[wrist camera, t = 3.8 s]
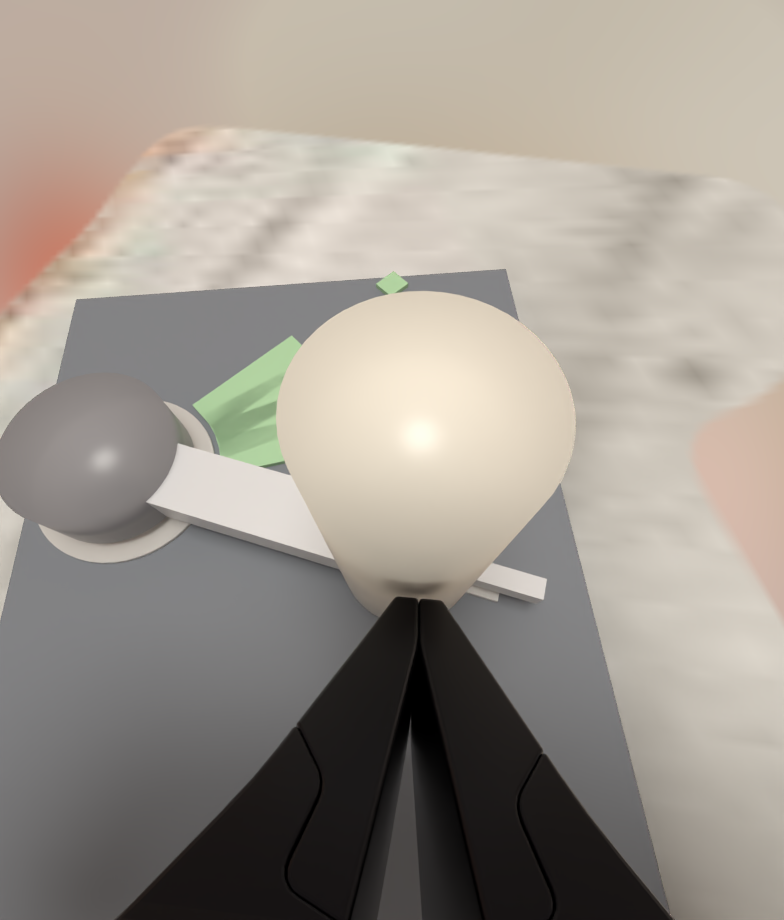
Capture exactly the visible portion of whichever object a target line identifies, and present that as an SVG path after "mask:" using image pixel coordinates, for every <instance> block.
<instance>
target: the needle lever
mask: <svg viewBox="0 0 784 920" xmlns="http://www.w3.org/2000/svg"><path fill="white" fill-rule="evenodd" d="M276 426H277V436H278V441H279V445H280V449H281V453H282V456H283V458H284V461H285V463H286V466H287V468H288V470H289V472H290V474H291V475H287V474H284V473H280V472H277V471H273V470H270V469H266V468H263V467H259V466H256V465H252V464H249V463H245V462H242V461H238V460H235V459H231V458H228V457H224V456H221V455H217V454H214V453H210V452H207V451H203V450H200V449H196V448H194V445H193V442H192V439H191V437H190V435H189V433H188V431H187V429H186V428H185V427H184V425H183V424H182V423H181V422H180V420H179V419H178V418H177V417H176V416H175V415H174V413H173V412H172V411H171V410H170V409H169V407H168V406H167V405H166V404H165V403H164V402H163V400H162V399H161V398H160V397H159V396H158V395H157V393H156V392H155V391H154V390H153V389H152V388H151V387H149V386H148V385H146V384H145V383H143V382H142V381H140V380H138V379H136V378H133V377H130V376H127V375H123V374H118V373H91V374H85V375H81V376H76V377H73V378H70V379H67V380H64V381H62V382H60V383H58V384H55V385H53V386H52V387H50V388H48V389H46V390H44V391H43V392H41V393H40V394H39V395H37V396H36V397H34V398H33V399H32V400H31V401H30V402H28V403H27V404H26V405H25V406H24V407H23V408H22V409H21V410H20V411H19V412H18V413H17V414H16V416H15V417H14V418H13V419H12V420H11V422H10V423H9V425H8V426H7V428H6V430H5V431H4V433H3V435H2V437H1V439H0V495H1V497H2V499H3V500H4V502H5V503H6V504H7V505H8V506H9V507H10V508H11V509H12V510H13V511H14V512H15V513H17V514H19V515H20V516H22V517H24V518H26V519H28V520H31V521H33V522H35V523H38V524H40V525H42V526H45V527H47V528H50V529H52V530H54V531H57V532H59V533H61V534H64V535H66V536H69V537H71V538H73V539H76V540H79V541H83V542H87V543H96V544H101V543H113V542H119V541H123V540H126V539H130V538H132V537H135V536H137V535H140V534H142V533H143V532H145V531H147V530H149V529H151V528H152V527H154V526H155V525H157V524H158V523H159V522H161V521H162V520H163V519H164V518H165V517H166V516H167V517H170V518H173V519H177V520H180V521H183V522H186V523H190V524H193V525H196V526H199V527H203V528H206V529H209V530H212V531H216V532H219V533H222V534H225V535H229V536H232V537H235V538H238V539H242V540H245V541H248V542H251V543H255V544H258V545H261V546H264V547H268V548H271V549H274V550H277V551H281V552H284V553H287V554H290V555H294V556H297V557H300V558H303V559H307V560H310V561H313V562H316V563H320V564H323V565H326V566H329V567H333V568H336V569H339V570H340V571H341V573H342V575H343V577H344V579H345V581H346V582H347V584H348V586H349V588H350V590H351V592H352V593H353V595H354V596H355V598H356V599H357V600H358V602H359V603H360V604H361V605H362V606H363V607H364V608H366V609H367V610H368V611H370V612H371V613H372V614H374V615H376V616H378V617H380V616H381V614H382V613H383V612H384V611H385V609H386V608H387V607H388V605H389V604H390V603H391V602H392V600H393V599H394V598H395V597H397V596H402V597H412V598H416V599H418V602H419V601H420V599H434V600H441V601H442V602H444V604H445V605H446V607H447V608H448V610H449V609H450V608H451V607H453V606H454V605H455V604H456V603H457V601H458V600H459V599H460V598H461V597H462V596H463V595H464V594H465V592H466V591H467V590H468V589H469V588H470V587H471V586H472V585H475V586H478V587H481V588H485V589H488V590H491V591H495V592H498V593H501V594H505V595H508V596H511V597H515V598H518V599H521V600H525V601H528V602H531V603H534V604H536V603H538V602H541V601H543V600H544V594H545V588H546V582H547V579H545V578H542V577H538V576H535V575H532V574H528V573H525V572H521V571H518V570H515V569H511V568H508V567H504V566H501V565H497V564H494V563H492V562H493V561H494V560H495V559H496V558H497V557H498V556H499V554H500V553H501V552H502V551H503V550H504V549H505V548H506V547H507V546H508V544H509V543H510V542H511V541H512V540H513V539H514V538H515V537H516V535H517V534H518V533H519V532H520V531H521V530H522V529H523V528H524V527H525V525H526V524H527V523H528V522H529V521H530V520H531V519H532V518H533V516H534V515H535V514H536V513H537V512H538V511H539V510H540V509H541V507H542V506H543V505H544V504H545V503H546V502H547V500H548V499H549V498H550V497H551V496H552V494H553V493H554V492H555V490H556V488H557V487H558V485H559V484H560V482H561V480H562V479H563V477H564V474H565V472H566V470H567V467H568V465H569V462H570V460H571V456H572V452H573V447H574V443H575V431H576V419H575V407H574V403H573V398H572V394H571V390H570V388H569V385H568V382H567V380H566V377H565V375H564V373H563V371H562V369H561V368H560V366H559V364H558V362H557V360H556V359H555V358H554V356H553V355H552V353H551V352H550V351H549V349H548V348H547V347H546V346H545V345H544V343H543V342H542V341H541V340H540V339H539V338H538V337H537V336H536V335H535V334H534V333H533V332H532V331H530V330H529V329H528V328H527V327H526V326H524V325H523V324H522V323H520V322H519V321H518V320H516V319H515V318H513V317H512V316H510V315H509V314H507V313H505V312H503V311H501V310H499V309H497V308H495V307H493V306H491V305H489V304H486V303H483V302H481V301H478V300H476V299H472V298H468V297H465V296H461V295H456V294H451V293H445V292H434V291H408V292H400V293H392V294H388V295H383V296H379V297H375V298H372V299H369V300H366V301H363V302H361V303H358V304H356V305H354V306H352V307H350V308H348V309H345V310H343V311H342V312H340V313H339V314H337V315H335V316H334V317H332V318H331V319H329V320H328V321H327V322H325V323H324V324H323V325H322V326H320V327H319V328H318V329H317V330H316V331H315V332H314V333H313V334H312V335H311V336H310V337H309V338H308V339H307V340H306V341H305V342H304V343H303V345H302V346H301V347H300V349H299V350H298V351H297V353H296V354H295V355H294V357H293V359H292V361H291V363H290V364H289V366H288V368H287V370H286V373H285V375H284V378H283V380H282V383H281V386H280V391H279V395H278V400H277V410H276Z"/></svg>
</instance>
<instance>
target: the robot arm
mask: <svg viewBox="0 0 784 920" xmlns="http://www.w3.org/2000/svg"><path fill="white" fill-rule="evenodd" d="M410 720H411V728H410ZM409 729H410V735H411V756H412V771H413V787H414V802H415V818H416V833H417V848H418V864H419V879H420V895H421V910H422V920H674V919H673V917H672V916H671V915H670V914H669V913H668V911H667V910H666V909H665V908H664V906H663V905H662V904H661V903H660V902H659V900H658V899H657V898H656V897H655V895H654V894H653V893H652V892H651V891H650V889H649V888H648V887H647V886H646V885H645V883H644V882H643V881H642V880H641V878H640V877H639V876H638V875H637V874H636V872H635V871H634V870H633V869H632V868H631V866H630V865H629V864H628V863H627V861H626V860H625V859H624V858H623V857H622V855H621V854H620V853H619V851H618V850H617V849H616V848H615V846H614V845H613V844H612V843H611V841H610V840H609V839H608V838H607V836H606V835H605V834H604V832H603V831H602V830H601V829H600V827H599V826H598V825H597V824H596V822H595V821H594V820H593V819H592V817H591V816H590V815H589V813H588V812H587V811H586V809H585V808H584V806H583V805H582V804H581V802H580V801H579V800H578V798H577V797H576V795H575V794H574V793H573V791H572V790H571V788H570V787H569V786H568V784H567V783H566V781H565V780H564V779H563V777H562V776H561V774H560V773H559V771H558V770H557V768H556V767H555V765H554V764H553V762H552V761H551V759H550V758H549V756H548V755H547V754H543V752H544V750H543V748H542V747H541V745H540V744H539V742H538V741H537V739H536V738H535V736H534V735H533V733H532V732H531V730H530V729H529V727H528V726H527V724H526V723H525V722H524V720H523V719H522V717H521V716H520V714H519V713H518V711H517V710H516V708H515V707H514V705H513V704H512V702H511V701H510V699H509V698H508V696H507V695H506V694H505V692H504V691H503V689H502V688H501V686H500V685H499V683H498V682H497V680H496V679H495V677H494V676H493V674H492V673H491V671H490V670H489V669H488V667H487V666H486V664H485V663H484V661H483V660H482V658H481V657H480V655H479V654H478V652H477V651H476V649H475V648H474V646H473V645H472V644H471V642H470V641H469V639H468V638H467V636H466V635H465V633H464V632H463V630H462V629H461V627H460V626H459V624H458V623H457V621H456V620H455V618H454V617H453V616H452V614H451V613H450V611H449V610H448V608H447V607H446V605H445V604H444V602H442V601H441V600H434V599H420V601H419V602H418V599H416V598H412V597H402V596H397V597H395V598H394V599H393V600H392V602H391V603H390V604H389V605H388V607H387V608H386V609H385V611H384V612H383V613H382V614H381V616H380V617H379V618H378V620H377V621H376V622H375V623H374V625H373V626H372V627H371V629H370V630H369V631H368V632H367V634H366V635H365V636H364V637H363V639H362V640H361V641H360V643H359V644H358V645H357V646H356V648H355V649H354V650H353V652H352V653H351V654H350V655H349V657H348V658H347V659H346V661H345V662H344V663H343V664H342V666H341V667H340V668H339V670H338V671H337V672H336V673H335V675H334V676H333V677H332V679H331V680H330V681H329V682H328V684H327V685H326V686H325V688H324V689H323V690H322V691H321V693H320V694H319V695H318V696H317V698H316V699H315V700H314V702H313V703H312V704H311V705H310V707H309V708H308V709H307V711H306V712H305V713H304V714H303V716H302V717H301V718H300V720H299V721H298V722H297V724H296V727H293V728H292V729H291V731H290V732H289V733H288V735H287V736H286V737H285V738H284V740H283V741H282V742H281V744H280V745H279V746H278V747H277V749H276V750H275V751H274V752H273V753H272V755H271V756H270V757H269V758H268V759H267V761H266V762H265V763H264V764H263V765H262V767H261V768H260V769H259V770H258V771H257V773H256V774H255V775H254V776H253V777H252V779H251V780H250V781H249V782H248V783H247V784H246V785H245V786H244V787H243V788H242V789H241V790H240V791H239V792H238V794H237V795H236V796H235V797H234V798H233V799H232V800H231V801H230V802H229V803H228V804H227V805H226V806H225V807H224V809H223V810H222V811H221V812H220V813H219V814H218V815H217V816H216V817H215V818H214V819H213V820H212V821H211V822H210V823H209V824H208V825H207V826H206V827H205V828H204V829H203V830H202V831H201V832H200V833H199V834H198V835H197V836H196V837H195V838H194V839H193V840H192V841H191V842H190V843H189V844H188V845H187V846H186V847H185V848H184V849H183V851H182V852H181V853H180V854H179V855H178V856H177V857H176V858H175V859H174V860H173V861H172V862H171V863H170V864H169V865H168V866H167V867H166V868H165V869H164V870H163V871H162V872H161V873H160V874H159V875H158V876H157V877H156V878H155V879H154V880H153V881H152V882H151V883H150V884H149V885H148V886H147V887H146V888H145V889H144V890H143V891H142V892H141V893H140V894H139V895H138V897H137V898H136V899H135V900H134V901H133V902H132V903H131V904H130V905H129V906H128V907H127V908H126V909H124V910H123V911H122V912H121V913H120V914H119V915H118V916H117V917H116V918H115V919H114V920H377V918H378V912H379V906H380V900H381V894H382V889H383V883H384V877H385V871H386V866H387V860H388V854H389V848H390V843H391V837H392V831H393V825H394V820H395V814H396V808H397V802H398V797H399V791H400V785H401V779H402V773H403V768H404V762H405V756H406V750H407V744H408V737H409Z"/></svg>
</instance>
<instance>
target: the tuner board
mask: <svg viewBox="0 0 784 920" xmlns="http://www.w3.org/2000/svg"><path fill="white" fill-rule="evenodd" d="M408 291H434V292H445V293H451V294H456V295H461V296H465V297H468V298H472V299H476V300H478V301H481V302H483V303H486V304H489V305H491V306H493V307H495V308H497V309H499V310H501V311H503V312H505V313H507V314H509V315H510V316H512V317H513V318H515V319H516V320H518V321H519V319H518V316H517V312H516V308H515V304H514V300H513V296H512V292H511V288H510V284H509V280H508V276H507V272H506V269H500V270H486V271H472V272H458V273H444V274H430V275H415V276H401V277H400V276H399V275H397V274H396V273H395V272H394V271H393V272H392V273H391V274H389V275H388V276H386V277H385V278H373V279H359V280H345V281H331V282H317V283H303V284H289V285H274V286H260V287H246V288H232V289H218V290H204V291H190V292H176V293H162V294H148V295H133V296H119V297H105V298H91V299H77V300H76V303H75V307H74V312H73V316H72V320H71V324H70V329H69V333H68V337H67V341H66V346H65V350H64V354H63V358H62V362H61V367H60V371H59V375H58V379H57V384H58V383H60V382H62V381H64V380H67V379H70V378H73V377H76V376H81V375H85V374H91V373H118V374H123V375H127V376H130V377H133V378H136V379H138V380H140V381H142V382H143V383H145V384H146V385H148V386H149V387H151V388H152V389H153V390H154V391H155V392H156V393H157V395H158V396H159V397H160V398H161V399H162V400H163V402H164V403H165V404H166V405H167V406H168V407H169V409H170V410H171V411H172V412H173V413H174V415H175V416H176V417H177V418H178V419H179V420H180V422H181V423H182V424H183V425H184V427H185V428H186V429H187V431H188V433H189V435H190V437H191V439H192V442H193V445H194V448H196V449H200V450H203V451H207V452H210V453H214V454H217V455H221V456H224V457H228V458H231V459H235V460H238V461H242V462H245V463H249V464H252V465H256V466H259V467H263V468H266V469H270V470H273V471H277V472H280V473H284V474H287V475H291V474H290V472H289V470H288V468H287V466H286V463H285V461H284V458H283V456H282V453H281V449H280V445H279V441H278V436H277V426H276V410H277V400H278V395H279V391H280V386H281V383H282V380H283V378H284V375H285V373H286V370H287V368H288V366H289V364H290V363H291V361H292V359H293V357H294V355H295V354H296V353H297V351H298V350H299V349H300V347H301V346H302V345H303V343H304V342H305V341H306V340H307V339H308V338H309V337H310V336H311V335H312V334H313V333H314V332H315V331H316V330H317V329H318V328H319V327H320V326H322V325H323V324H324V323H325V322H327V321H328V320H329V319H331V318H332V317H334V316H335V315H337V314H339V313H340V312H342V311H343V310H345V309H348V308H350V307H352V306H354V305H356V304H358V303H361V302H363V301H366V300H369V299H372V298H375V297H379V296H383V295H388V294H392V293H400V292H408ZM492 563H494V564H497V565H501V566H504V567H508V568H511V569H515V570H518V571H521V572H525V573H528V574H532V575H535V576H538V577H542V578H545V579H547V582H546V588H545V594H544V600H543V601H541V602H538V603H536V604H534V603H531V602H528V601H525V600H521V599H518V598H515V597H511V596H508V595H505V594H501V593H498V592H495V591H491V590H488V589H485V588H481V587H478V586H475V585H472V586H471V587H470V588H469V589H468V590H467V591H466V592H465V594H464V595H463V596H462V597H461V598H460V599H459V600H458V601H457V603H456V604H455V605H454V606H453V607H451V608H450V609H449V611H450V613H451V614H452V616H453V617H454V618H455V620H456V621H457V623H458V624H459V626H460V627H461V629H462V630H463V632H464V633H465V635H466V636H467V638H468V639H469V641H470V642H471V644H472V645H473V646H474V648H475V649H476V651H477V652H478V654H479V655H480V657H481V658H482V660H483V661H484V663H485V664H486V666H487V667H488V669H489V670H490V671H491V673H492V674H493V676H494V677H495V679H496V680H497V682H498V683H499V685H500V686H501V688H502V689H503V691H504V692H505V694H506V695H507V696H508V698H509V699H510V701H511V702H512V704H513V705H514V707H515V708H516V710H517V711H518V713H519V714H520V716H521V717H522V719H523V720H524V722H525V723H526V724H527V726H528V727H529V729H530V730H531V732H532V733H533V735H534V736H535V738H536V739H537V741H538V742H539V744H540V745H541V747H542V748H543V750H544V752H543V754H547V755H548V756H549V758H550V759H551V761H552V762H553V764H554V765H555V767H556V768H557V770H558V771H559V773H560V774H561V776H562V777H563V779H564V780H565V781H566V783H567V784H568V786H569V787H570V788H571V790H572V791H573V793H574V794H575V795H576V797H577V798H578V800H579V801H580V802H581V804H582V805H583V806H584V808H585V809H586V811H587V812H588V813H589V815H590V816H591V817H592V819H593V820H594V821H595V822H596V824H597V825H598V826H599V827H600V829H601V830H602V831H603V832H604V834H605V835H606V836H607V838H608V839H609V840H610V841H611V843H612V844H613V845H614V846H615V848H616V849H617V850H618V851H619V853H620V854H621V855H622V857H623V858H624V859H625V860H626V861H627V863H628V864H629V865H630V866H631V868H632V869H633V870H634V871H635V872H636V874H637V875H638V876H639V877H640V878H641V880H642V881H643V882H644V883H645V885H646V886H647V887H648V888H649V889H650V891H651V892H652V893H653V894H654V895H655V897H656V898H657V899H658V900H659V902H660V903H661V904H662V905H663V906H664V908H665V909H666V910H667V911H668V913H669V914H670V912H669V908H668V904H667V900H666V896H665V892H664V888H663V885H662V881H661V877H660V873H659V869H658V865H657V861H656V857H655V853H654V849H653V845H652V841H651V837H650V834H649V830H648V826H647V822H646V818H645V814H644V810H643V806H642V802H641V798H640V794H639V790H638V786H637V783H636V779H635V775H634V771H633V767H632V763H631V759H630V755H629V751H628V747H627V743H626V739H625V735H624V732H623V728H622V724H621V720H620V716H619V712H618V708H617V704H616V700H615V696H614V692H613V688H612V684H611V681H610V677H609V673H608V669H607V665H606V661H605V657H604V653H603V649H602V645H601V641H600V637H599V633H598V630H597V626H596V622H595V618H594V614H593V610H592V606H591V602H590V598H589V594H588V590H587V586H586V582H585V578H584V575H583V571H582V567H581V563H580V559H579V555H578V551H577V547H576V543H575V539H574V535H573V531H572V527H571V524H570V520H569V516H568V512H567V508H566V504H565V500H564V496H563V492H562V488H561V484H559V485H558V487H557V488H556V490H555V492H554V493H553V494H552V496H551V497H550V498H549V499H548V500H547V502H546V503H545V504H544V505H543V506H542V507H541V509H540V510H539V511H538V512H537V513H536V514H535V515H534V516H533V518H532V519H531V520H530V521H529V522H528V523H527V524H526V525H525V527H524V528H523V529H522V530H521V531H520V532H519V533H518V534H517V535H516V537H515V538H514V539H513V540H512V541H511V542H510V543H509V544H508V546H507V547H506V548H505V549H504V550H503V551H502V552H501V553H500V554H499V556H498V557H497V558H496V559H495V560H494V561H493V562H492ZM378 618H379V617H378V616H376V615H374V614H372V613H371V612H370V611H368V610H367V609H366V608H364V607H363V606H362V605H361V604H360V603H359V602H358V600H357V599H356V598H355V596H354V595H353V593H352V592H351V590H350V588H349V586H348V584H347V582H346V581H345V579H344V577H343V575H342V573H341V571H340V570H339V569H336V568H333V567H329V566H326V565H323V564H320V563H316V562H313V561H310V560H307V559H303V558H300V557H297V556H294V555H290V554H287V553H284V552H281V551H277V550H274V549H271V548H268V547H264V546H261V545H258V544H255V543H251V542H248V541H245V540H242V539H238V538H235V537H232V536H229V535H225V534H222V533H219V532H216V531H212V530H209V529H206V528H203V527H199V526H196V525H193V524H190V523H186V522H183V521H180V520H177V519H173V518H170V517H167V516H166V517H165V518H164V519H163V520H162V521H161V522H159V523H158V524H157V525H155V526H154V527H152V528H151V529H149V530H147V531H145V532H143V533H142V534H140V535H137V536H135V537H132V538H130V539H126V540H123V541H119V542H113V543H101V544H96V543H87V542H83V541H79V540H76V539H73V538H71V537H69V536H66V535H64V534H61V533H59V532H57V531H54V530H52V529H50V528H47V527H45V526H42V525H40V524H38V523H35V522H33V521H31V520H28V519H26V518H25V519H24V523H23V527H22V532H21V536H20V540H19V544H18V548H17V553H16V557H15V561H14V565H13V570H12V574H11V578H10V582H9V587H8V591H7V595H6V599H5V603H4V608H3V612H2V616H1V620H0V920H114V919H115V918H116V917H117V916H118V915H119V914H120V913H121V912H122V911H123V910H124V909H126V908H127V907H128V906H129V905H130V904H131V903H132V902H133V901H134V900H135V899H136V898H137V897H138V895H139V894H140V893H141V892H142V891H143V890H144V889H145V888H146V887H147V886H148V885H149V884H150V883H151V882H152V881H153V880H154V879H155V878H156V877H157V876H158V875H159V874H160V873H161V872H162V871H163V870H164V869H165V868H166V867H167V866H168V865H169V864H170V863H171V862H172V861H173V860H174V859H175V858H176V857H177V856H178V855H179V854H180V853H181V852H182V851H183V849H184V848H185V847H186V846H187V845H188V844H189V843H190V842H191V841H192V840H193V839H194V838H195V837H196V836H197V835H198V834H199V833H200V832H201V831H202V830H203V829H204V828H205V827H206V826H207V825H208V824H209V823H210V822H211V821H212V820H213V819H214V818H215V817H216V816H217V815H218V814H219V813H220V812H221V811H222V810H223V809H224V807H225V806H226V805H227V804H228V803H229V802H230V801H231V800H232V799H233V798H234V797H235V796H236V795H237V794H238V792H239V791H240V790H241V789H242V788H243V787H244V786H245V785H246V784H247V783H248V782H249V781H250V780H251V779H252V777H253V776H254V775H255V774H256V773H257V771H258V770H259V769H260V768H261V767H262V765H263V764H264V763H265V762H266V761H267V759H268V758H269V757H270V756H271V755H272V753H273V752H274V751H275V750H276V749H277V747H278V746H279V745H280V744H281V742H282V741H283V740H284V738H285V737H286V736H287V735H288V733H289V732H290V731H291V729H292V728H293V727H296V724H297V722H298V721H299V720H300V718H301V717H302V716H303V714H304V713H305V712H306V711H307V709H308V708H309V707H310V705H311V704H312V703H313V702H314V700H315V699H316V698H317V696H318V695H319V694H320V693H321V691H322V690H323V689H324V688H325V686H326V685H327V684H328V682H329V681H330V680H331V679H332V677H333V676H334V675H335V673H336V672H337V671H338V670H339V668H340V667H341V666H342V664H343V663H344V662H345V661H346V659H347V658H348V657H349V655H350V654H351V653H352V652H353V650H354V649H355V648H356V646H357V645H358V644H359V643H360V641H361V640H362V639H363V637H364V636H365V635H366V634H367V632H368V631H369V630H370V629H371V627H372V626H373V625H374V623H375V622H376V621H377V620H378ZM410 728H411V720H410ZM377 920H422V910H421V895H420V879H419V864H418V848H417V833H416V818H415V802H414V787H413V771H412V756H411V735H410V729H409V737H408V744H407V750H406V756H405V762H404V768H403V773H402V779H401V785H400V791H399V797H398V802H397V808H396V814H395V820H394V825H393V831H392V837H391V843H390V848H389V854H388V860H387V866H386V871H385V877H384V883H383V889H382V894H381V900H380V906H379V912H378V918H377Z"/></svg>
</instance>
